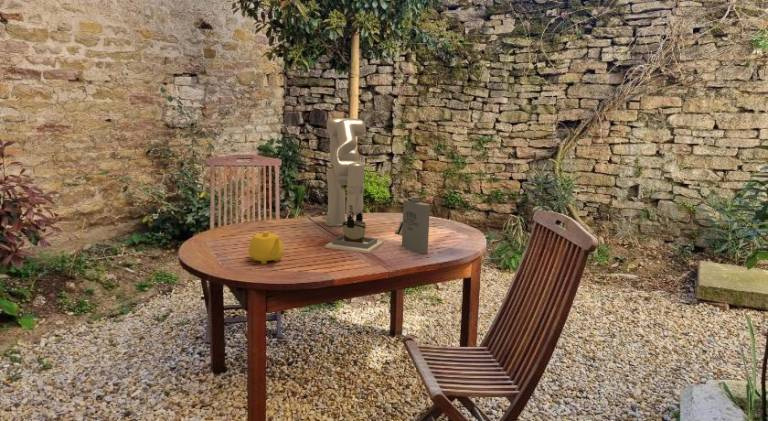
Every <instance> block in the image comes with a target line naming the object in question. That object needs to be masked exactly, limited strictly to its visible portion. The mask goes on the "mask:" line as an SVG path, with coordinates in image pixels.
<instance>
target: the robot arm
mask: <svg viewBox="0 0 768 421" xmlns="http://www.w3.org/2000/svg"><path fill="white" fill-rule="evenodd" d="M326 129H327V135H328V137H329V141H330V142H329V147H330V148H329V162H330V164H331V165H332V166H333V168H329V169H328V170H327V172H326V181H327V182H326V183H327V198H328V199H327V215H322V216H321V219H322V220H325V223H324V224H325V225H326V226H327V227H328V226H329V227H343V226H342V223H343V222H344V221H347V227H348V228H354V221H362V222H363V218H364V216H363V215H364V207H365V205H364V193H365V164H364V162H363V161H361V160H360V152H358V149H356V148H357V145H358V142H357V138H356V137H364V136H365V135H366V132H367V128H366V123H365V122H364V120H362V119H359V118H346V117H344V118H343V117H336V118H335V117H333V118H329V119H328V120H327V123H326ZM342 186H347V195H346V191H345V190H344V189H343V188H342ZM354 218H355V219H354Z"/></svg>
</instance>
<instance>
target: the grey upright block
mask: <svg viewBox="0 0 768 421" xmlns="http://www.w3.org/2000/svg"><path fill="white" fill-rule="evenodd" d="M402 204H403V206H402V220H403V228H402V235H401V246H402V247H403V248H405V249H407V250H410V251H411V252H414V253H418V254H421V255H427V254H428V253H429V237H430V235H429V233H430V215H431V214H430V212H431V210H430V208H431V204H430V203H425V202H422V201H420V196H414V195H413V196H410V197H407V198H404V199H403V203H402Z"/></svg>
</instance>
